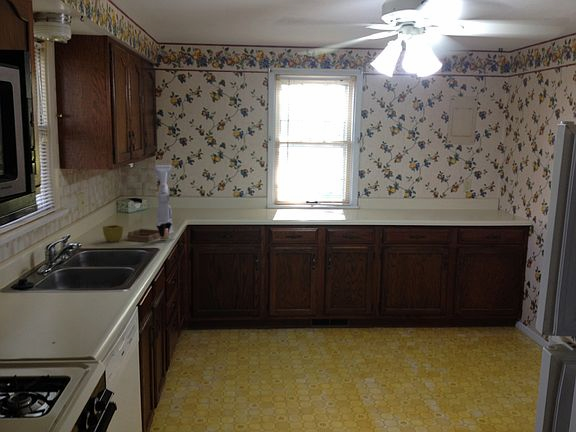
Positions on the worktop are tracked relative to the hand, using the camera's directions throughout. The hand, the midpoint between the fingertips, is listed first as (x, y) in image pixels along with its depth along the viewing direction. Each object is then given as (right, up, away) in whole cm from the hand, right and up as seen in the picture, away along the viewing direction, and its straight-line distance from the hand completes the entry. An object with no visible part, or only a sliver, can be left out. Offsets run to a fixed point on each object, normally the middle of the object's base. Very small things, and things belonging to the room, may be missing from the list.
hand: (164, 235), depth 341 cm
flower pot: (-30, -3, -4) cm, 30 cm away
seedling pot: (0, -2, 0) cm, 2 cm away
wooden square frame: (-13, -2, +5) cm, 14 cm away
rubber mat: (0, -3, +1) cm, 3 cm away
